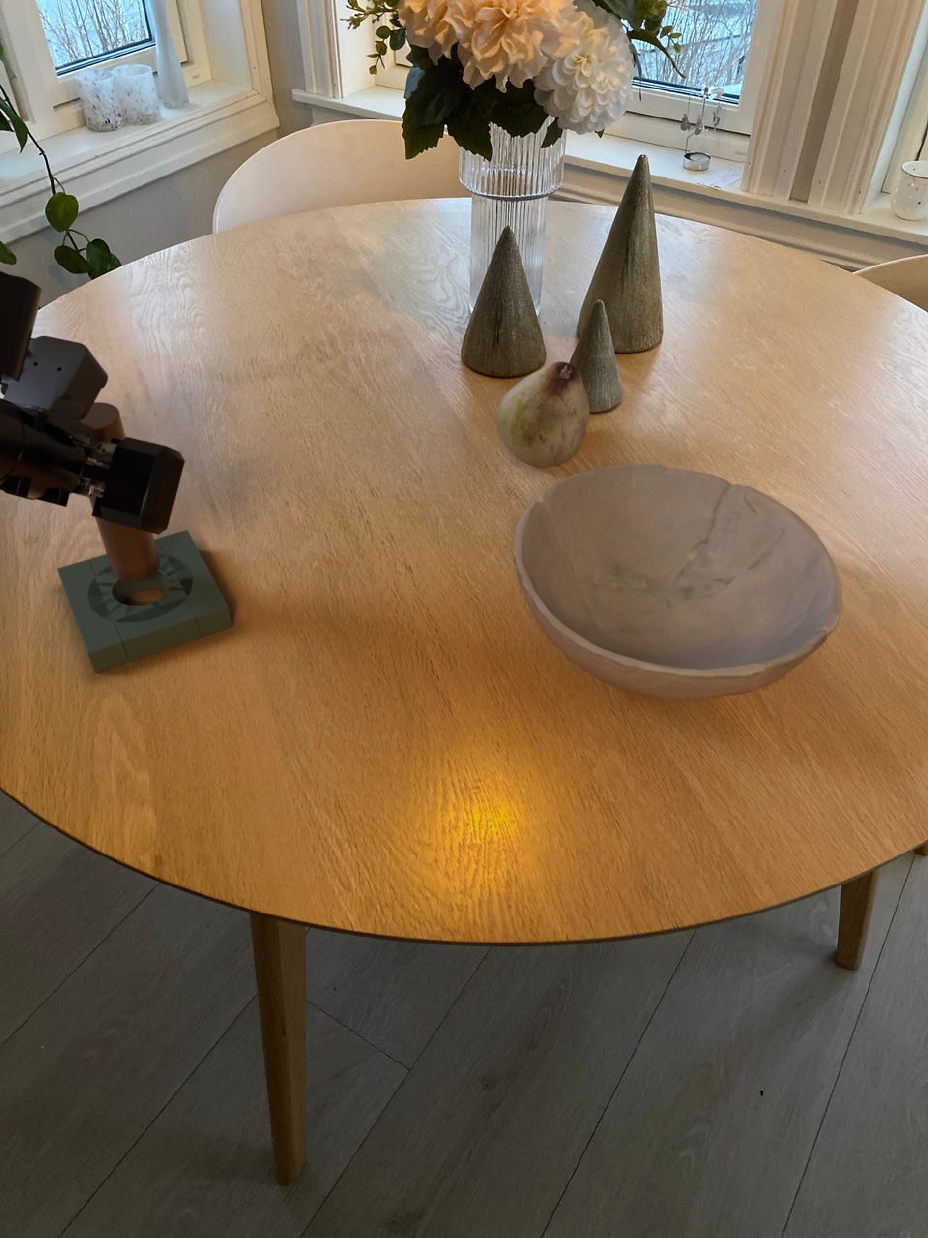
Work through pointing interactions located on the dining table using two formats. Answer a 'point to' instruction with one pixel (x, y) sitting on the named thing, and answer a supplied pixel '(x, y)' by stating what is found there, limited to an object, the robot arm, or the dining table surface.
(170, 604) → the board
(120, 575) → the dowel
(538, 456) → the fruit
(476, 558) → the dining table surface
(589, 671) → the bowl
